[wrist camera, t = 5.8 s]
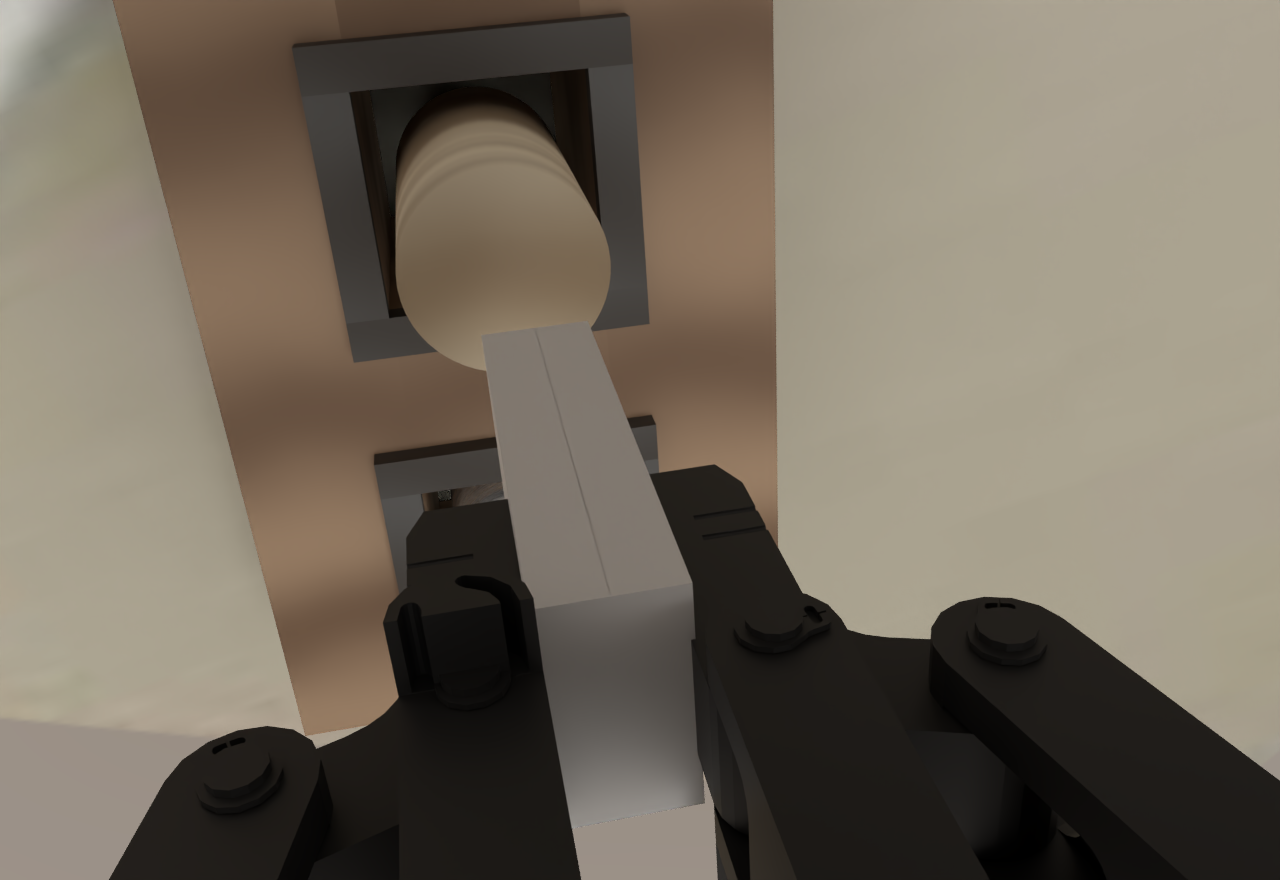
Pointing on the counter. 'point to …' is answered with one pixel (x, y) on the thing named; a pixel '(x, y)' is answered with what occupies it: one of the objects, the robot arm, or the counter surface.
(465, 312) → the birch dowel
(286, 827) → the robot arm
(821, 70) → the counter surface
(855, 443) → the counter surface
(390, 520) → the walnut block
